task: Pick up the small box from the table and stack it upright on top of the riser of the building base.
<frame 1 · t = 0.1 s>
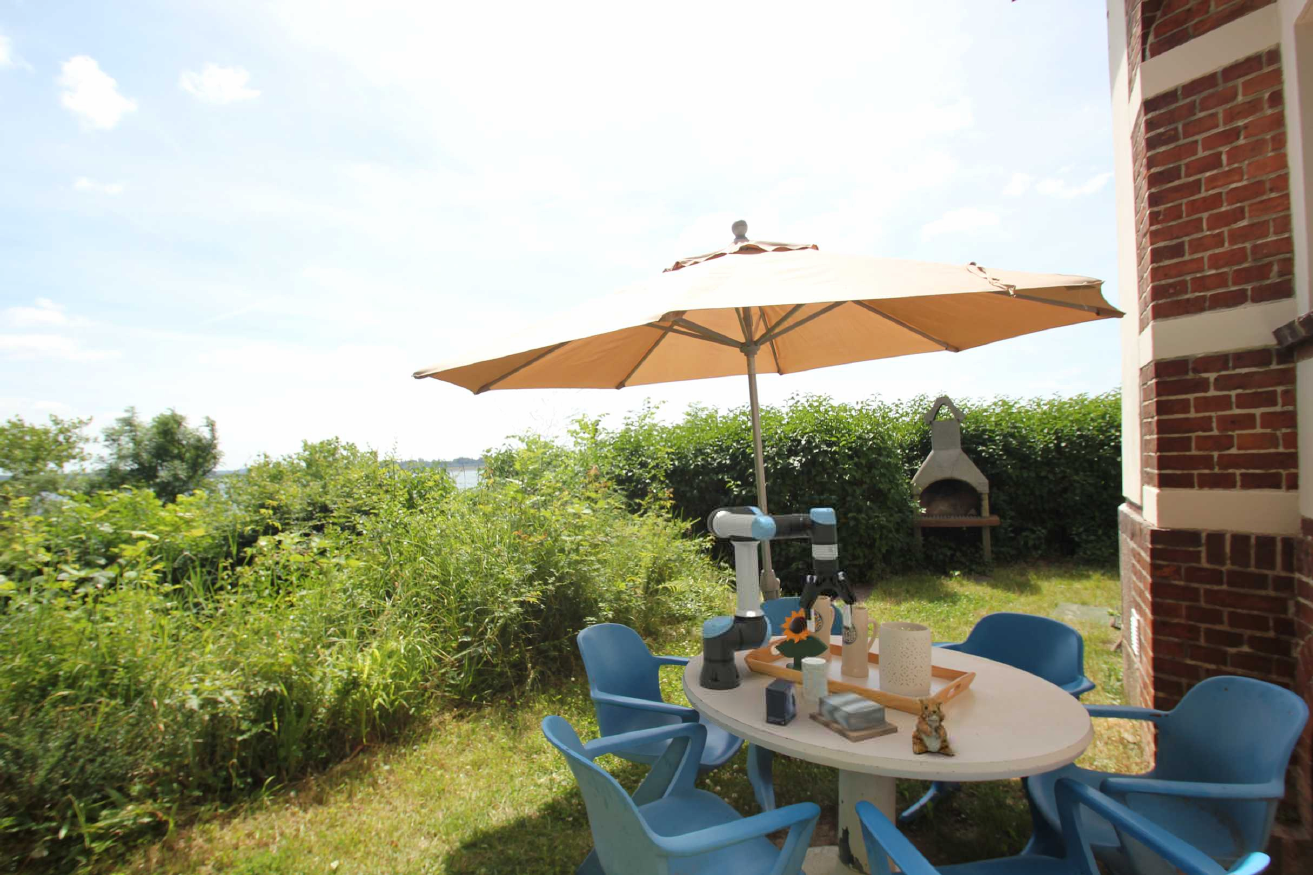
hand: (829, 628, 177), 28 cm above the table, tool pointing down, fingers open, 13 cm apart
cup: (815, 697, 197), on the table
small box: (782, 719, 179), on the table
stuffed squirrel: (931, 746, 157), on the table
building base: (851, 724, 173), on the table
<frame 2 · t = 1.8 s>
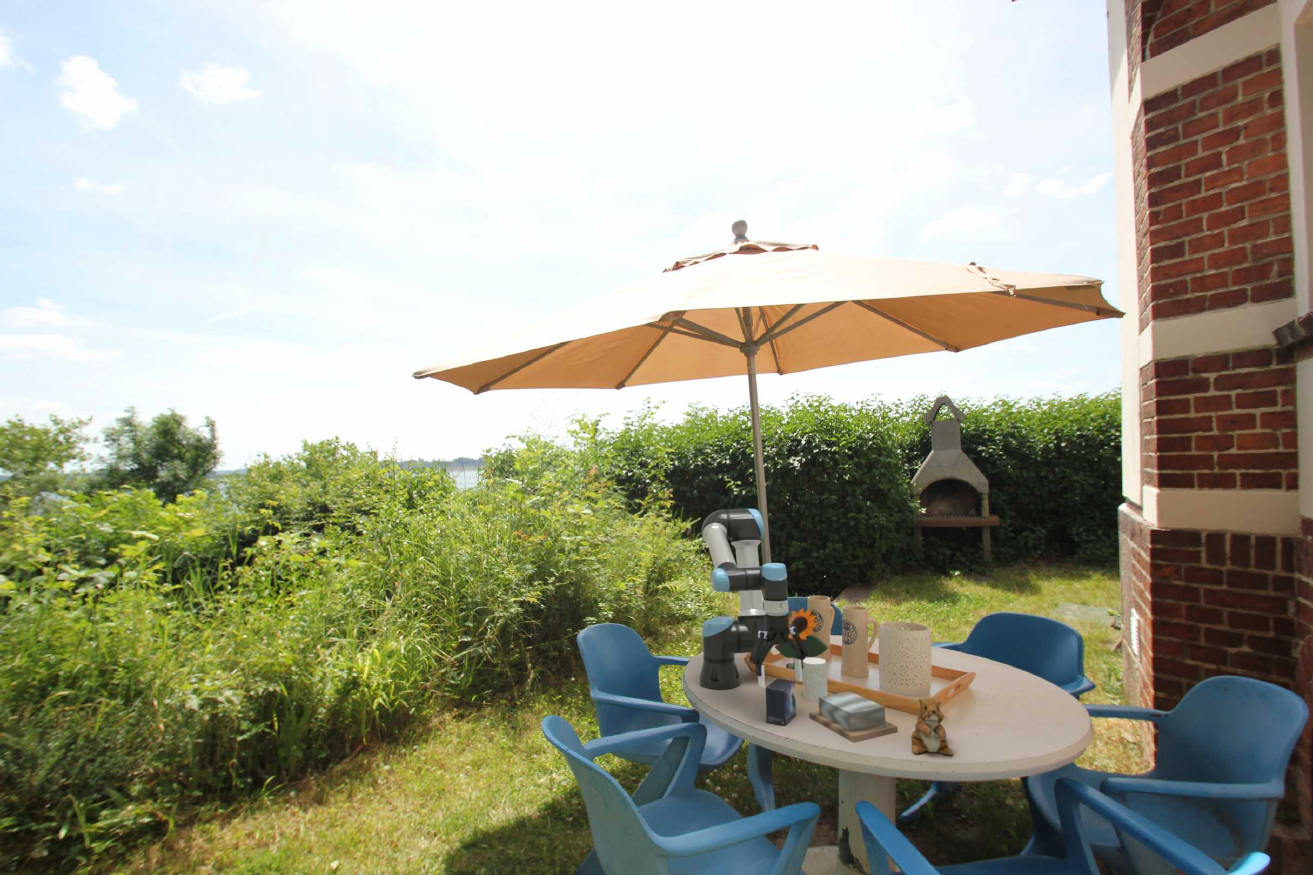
hand: (780, 683, 180), 11 cm above the table, tool pointing down, fingers open, 13 cm apart
nothing on the table moved.
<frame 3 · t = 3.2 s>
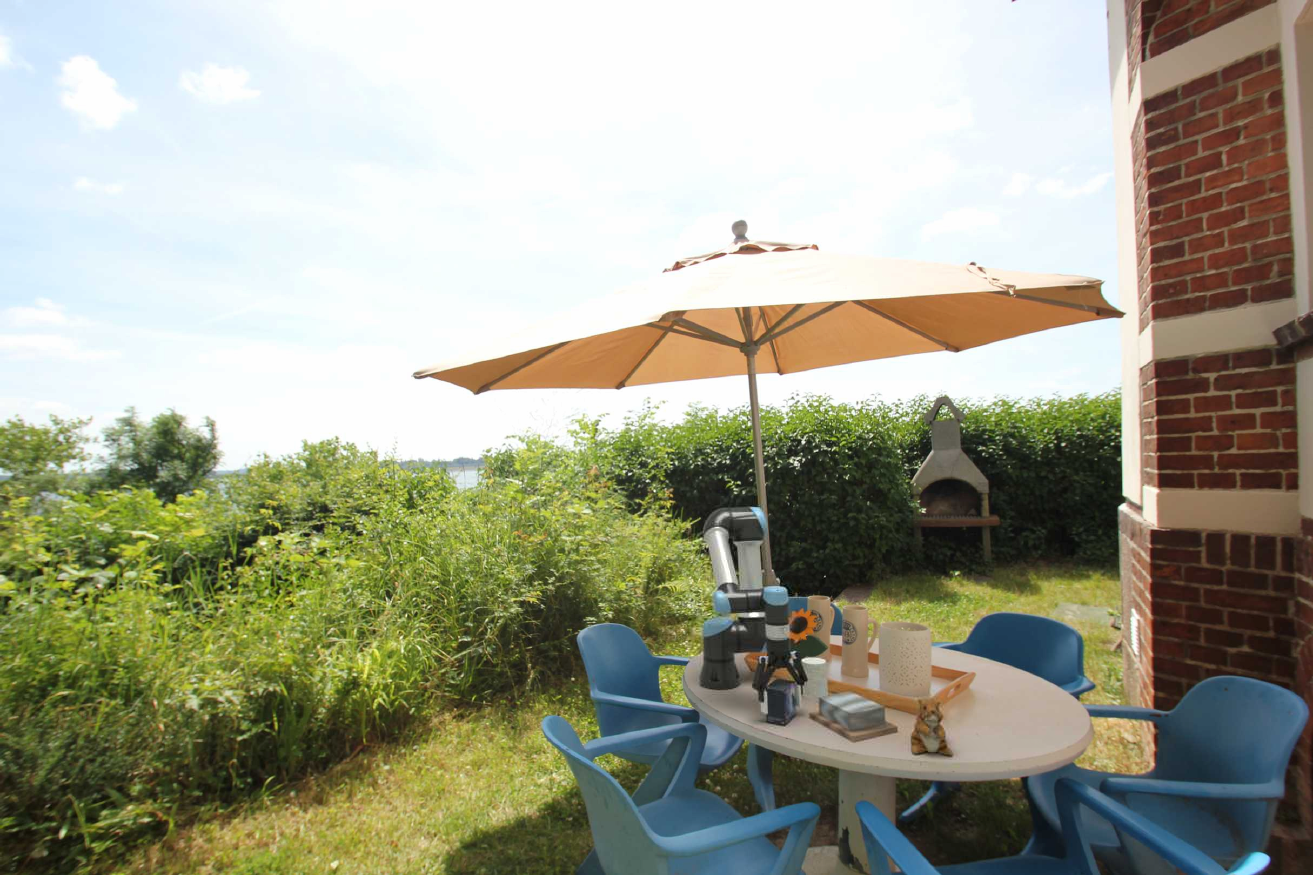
hand: (781, 709, 179), 3 cm above the table, tool pointing down, fingers closed on small box, 12 cm apart
small box: (781, 719, 179), on the table, touching gripper
everything else where it was.
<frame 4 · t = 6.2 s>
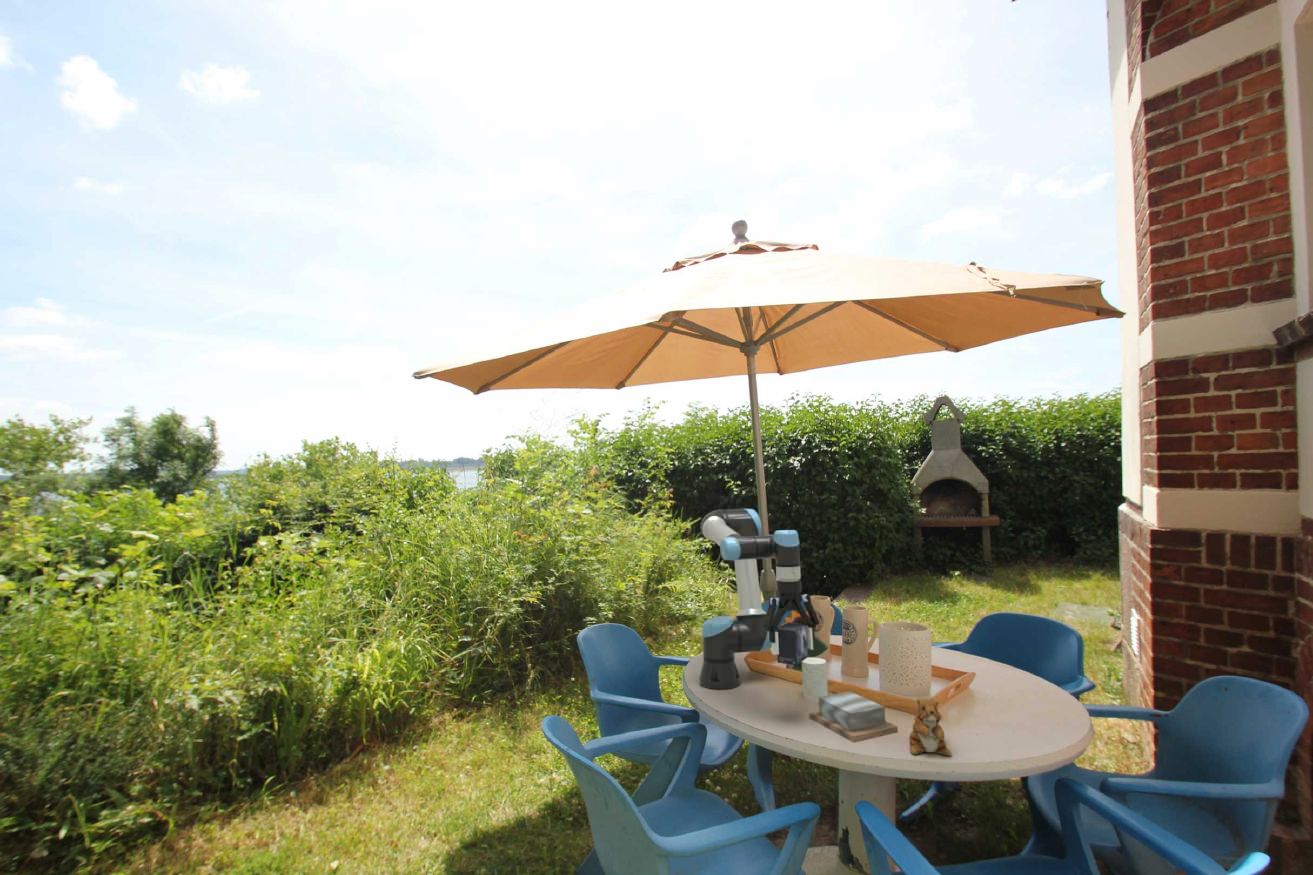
hand: (792, 651, 179), 21 cm above the table, tool pointing down, fingers closed on small box, 12 cm apart
small box: (793, 661, 179), point 18 cm above the table, touching gripper
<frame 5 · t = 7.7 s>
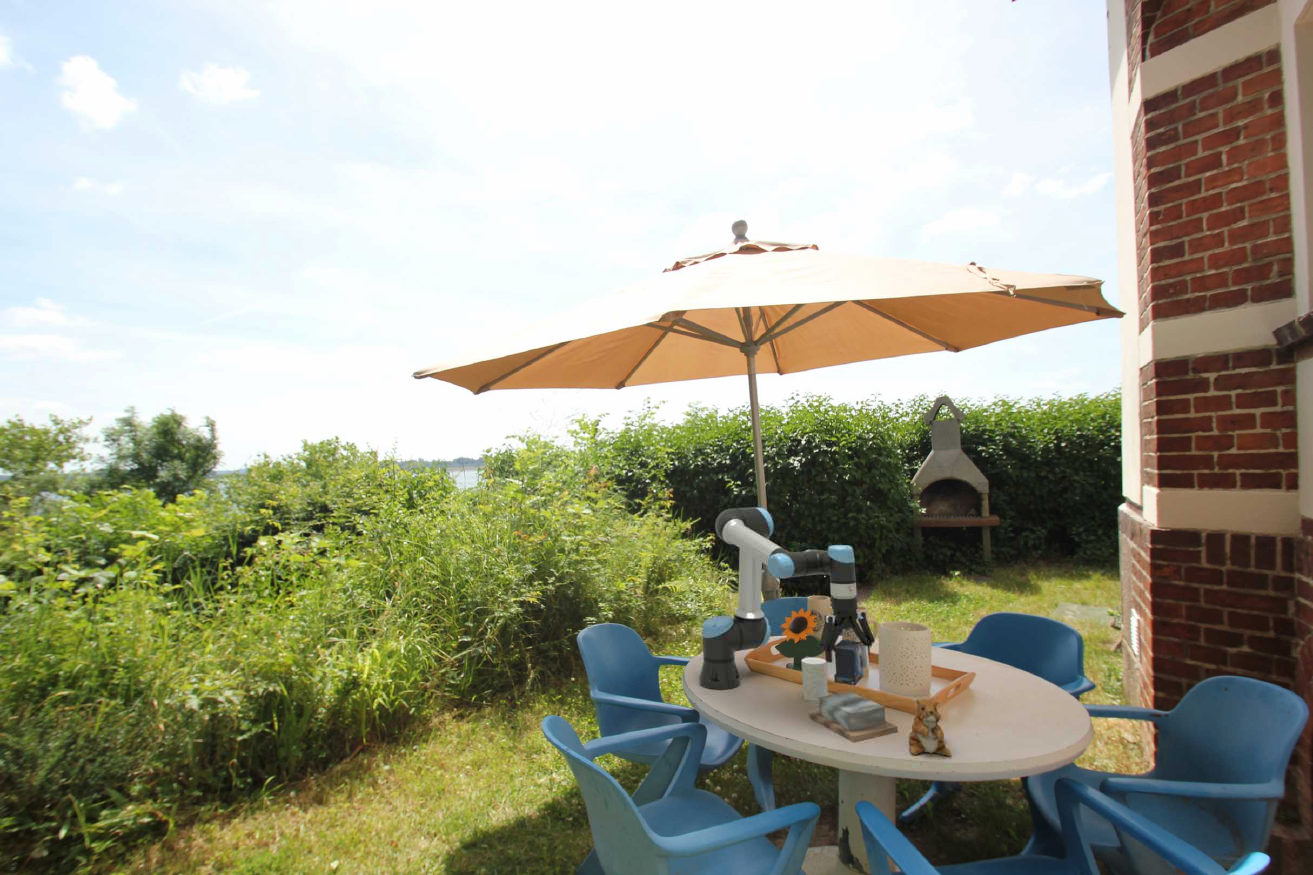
hand: (848, 670, 174), 16 cm above the table, tool pointing down, fingers closed on small box, 12 cm apart
small box: (849, 680, 174), point 13 cm above the table, touching gripper
when the fingers open (11 cm above the table, at t = 9.1 s): small box drops 1 cm, resting on building base.
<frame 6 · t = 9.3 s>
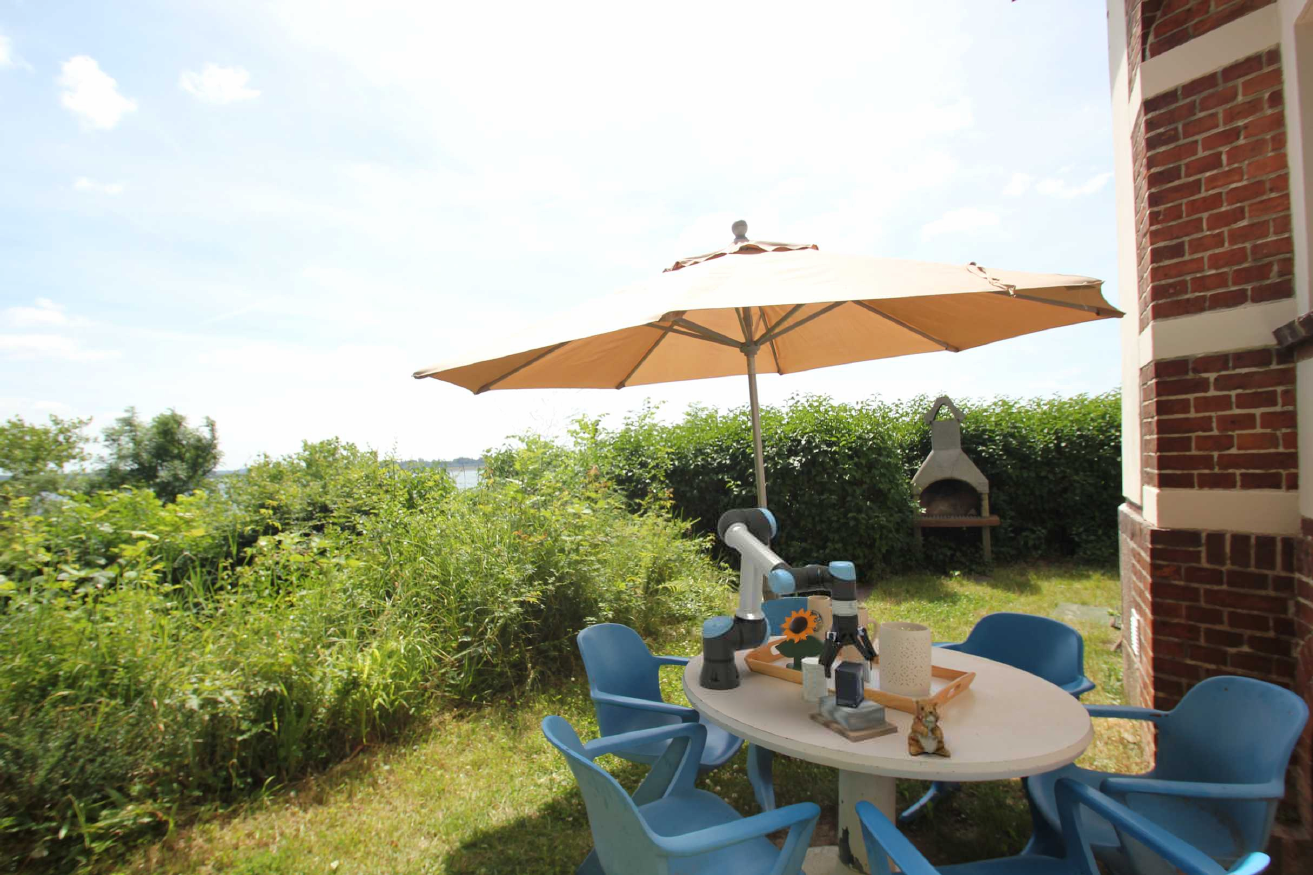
hand: (849, 685, 174), 11 cm above the table, tool pointing down, fingers open, 13 cm apart
small box: (851, 702, 174), point 6 cm above the table, touching building base
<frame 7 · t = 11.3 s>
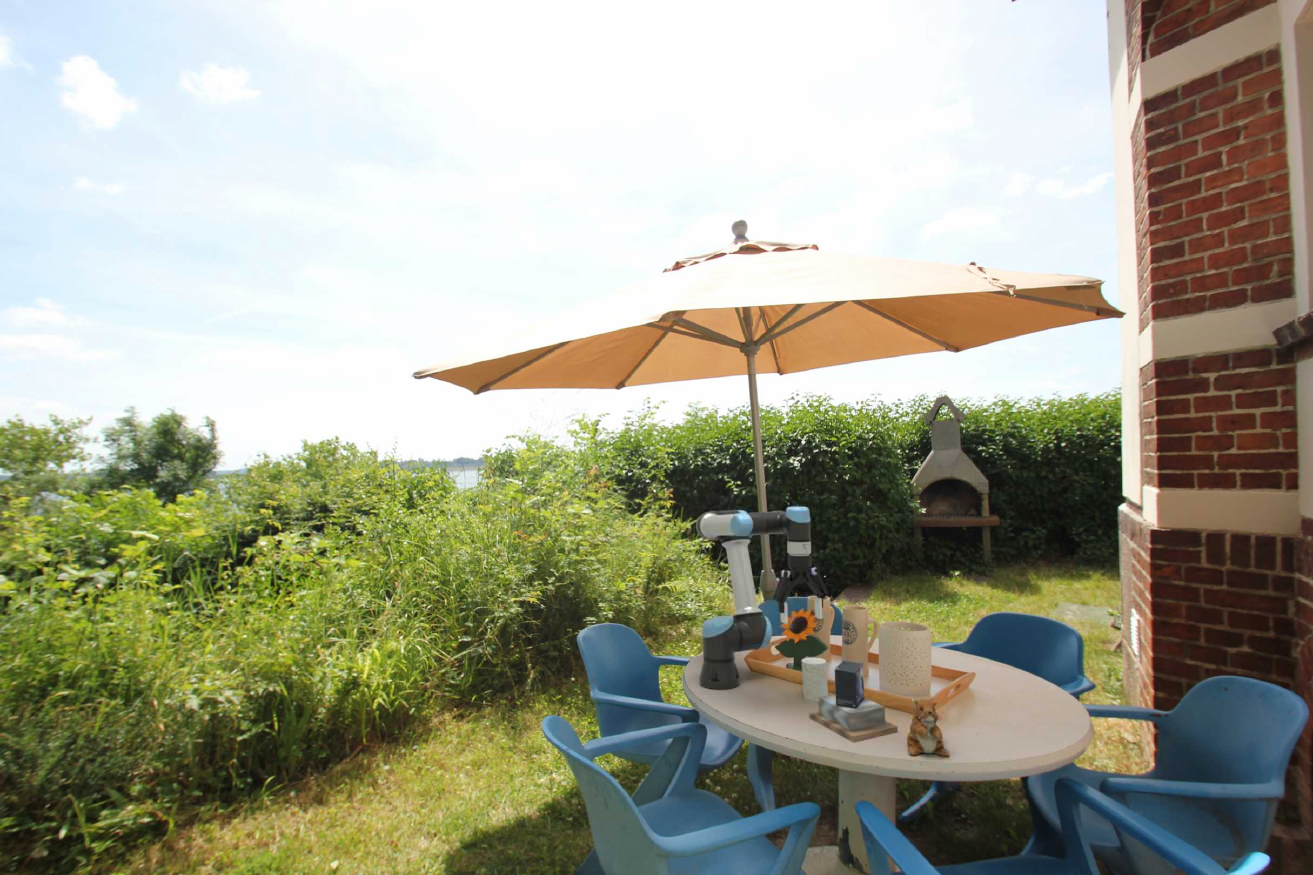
hand: (801, 620, 187), 28 cm above the table, tool pointing down, fingers open, 13 cm apart
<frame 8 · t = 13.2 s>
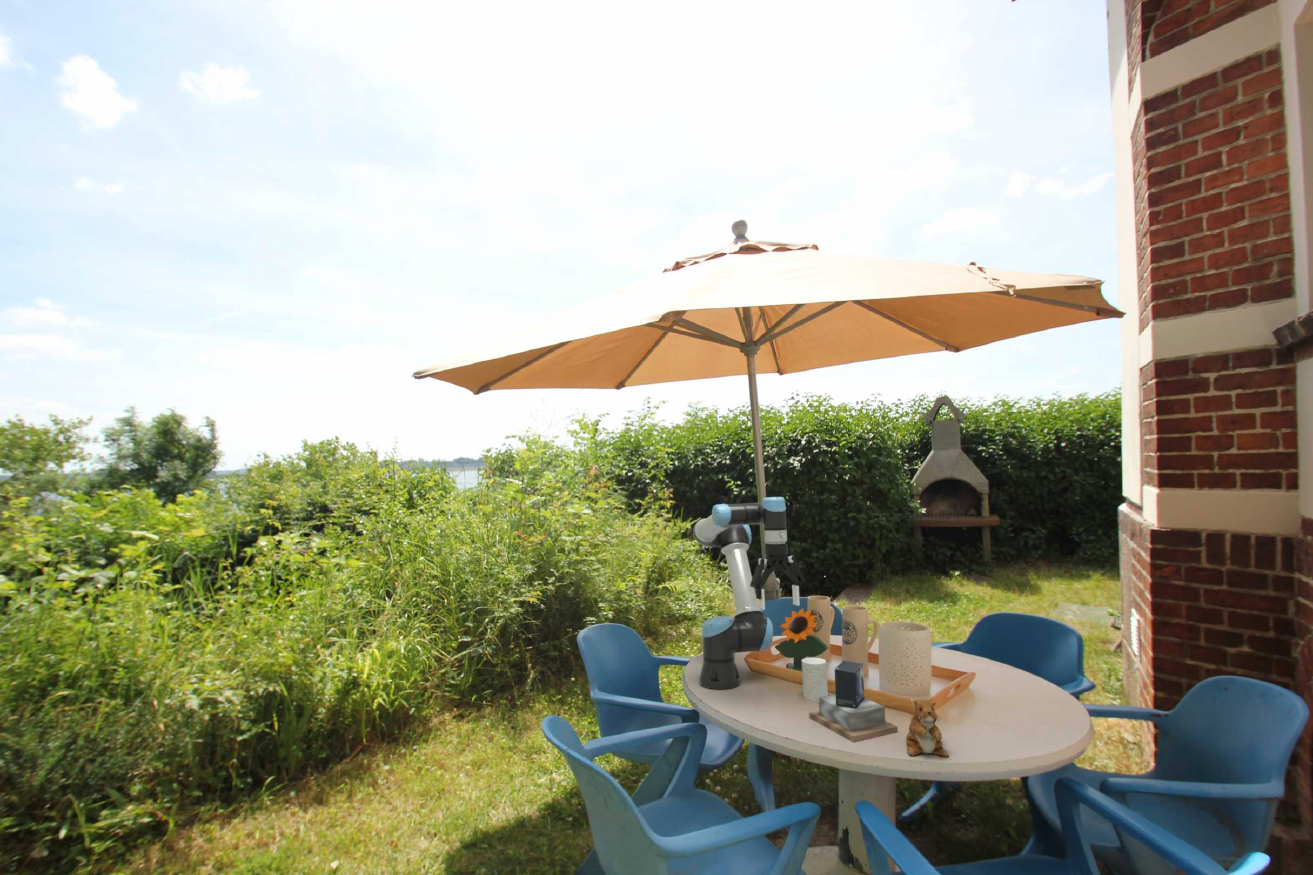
hand: (779, 606, 193), 32 cm above the table, tool pointing down, fingers open, 13 cm apart
at the end: small box inside the target area on the building base (0.2 cm from its centre), point 6.3 cm above the building base's base; small box tilted 0°; the gripper is holding nothing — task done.
